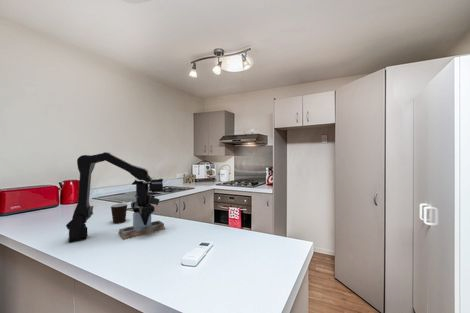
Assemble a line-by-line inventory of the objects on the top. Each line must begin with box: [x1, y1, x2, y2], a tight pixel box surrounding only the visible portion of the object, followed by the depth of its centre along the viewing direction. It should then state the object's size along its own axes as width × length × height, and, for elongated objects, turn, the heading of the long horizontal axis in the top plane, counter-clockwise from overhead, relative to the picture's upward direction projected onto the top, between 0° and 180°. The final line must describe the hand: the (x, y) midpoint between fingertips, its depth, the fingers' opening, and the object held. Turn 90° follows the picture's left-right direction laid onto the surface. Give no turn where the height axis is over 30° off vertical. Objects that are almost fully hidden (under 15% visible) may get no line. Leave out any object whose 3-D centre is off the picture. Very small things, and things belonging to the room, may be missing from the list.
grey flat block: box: [132, 212, 152, 230], centre depth 106 cm, size 8×3×9 cm, turn 132°
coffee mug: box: [110, 203, 128, 225], centre depth 124 cm, size 12×9×10 cm
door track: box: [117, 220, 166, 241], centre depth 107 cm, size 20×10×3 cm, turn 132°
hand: (142, 222), depth 106 cm, fingers open, 9 cm apart
